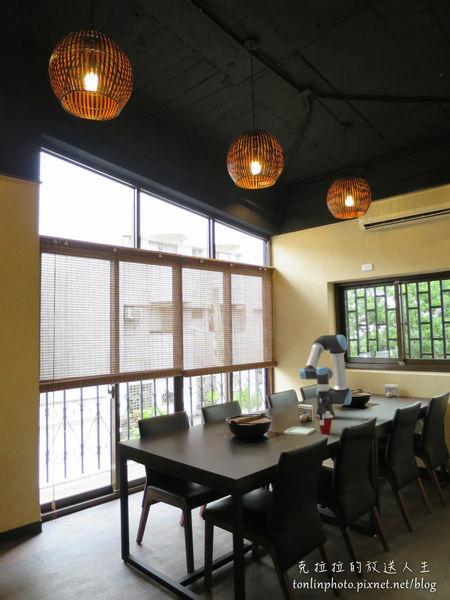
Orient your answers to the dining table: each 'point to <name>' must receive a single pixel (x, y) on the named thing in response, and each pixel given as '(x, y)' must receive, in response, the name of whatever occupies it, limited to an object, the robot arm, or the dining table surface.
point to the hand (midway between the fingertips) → (325, 423)
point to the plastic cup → (326, 424)
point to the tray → (300, 430)
